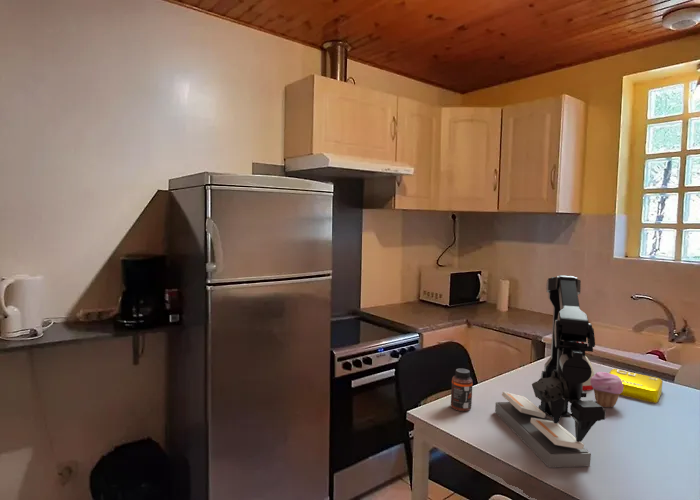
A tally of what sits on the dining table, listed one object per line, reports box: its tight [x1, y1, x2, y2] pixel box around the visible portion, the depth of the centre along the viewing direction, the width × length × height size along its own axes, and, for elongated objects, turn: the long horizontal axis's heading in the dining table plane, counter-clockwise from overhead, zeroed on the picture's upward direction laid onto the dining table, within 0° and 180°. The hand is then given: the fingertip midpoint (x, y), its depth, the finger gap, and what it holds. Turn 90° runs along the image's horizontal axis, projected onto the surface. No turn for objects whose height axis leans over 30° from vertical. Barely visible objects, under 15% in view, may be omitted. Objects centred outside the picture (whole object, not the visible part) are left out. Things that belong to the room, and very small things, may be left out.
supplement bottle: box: [450, 368, 474, 412], centre depth 129 cm, size 6×6×11 cm
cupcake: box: [590, 371, 623, 408], centre depth 134 cm, size 9×9×10 cm
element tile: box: [608, 368, 663, 404], centre depth 147 cm, size 15×15×5 cm
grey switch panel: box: [494, 401, 592, 469], centre depth 114 cm, size 10×28×3 cm, turn 6°
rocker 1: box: [501, 390, 547, 418], centre depth 121 cm, size 7×11×1 cm, turn 7°
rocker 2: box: [530, 418, 585, 449], centre depth 105 cm, size 7×11×1 cm, turn 6°
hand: (566, 431), depth 106 cm, fingers open, 9 cm apart
